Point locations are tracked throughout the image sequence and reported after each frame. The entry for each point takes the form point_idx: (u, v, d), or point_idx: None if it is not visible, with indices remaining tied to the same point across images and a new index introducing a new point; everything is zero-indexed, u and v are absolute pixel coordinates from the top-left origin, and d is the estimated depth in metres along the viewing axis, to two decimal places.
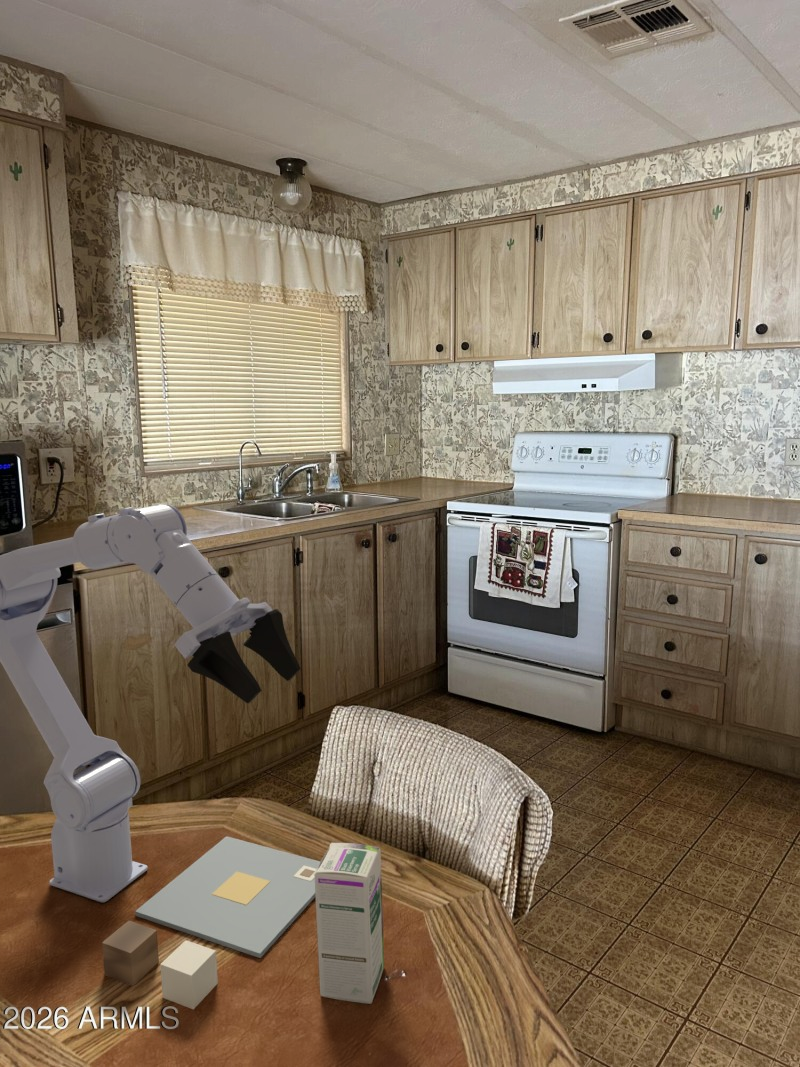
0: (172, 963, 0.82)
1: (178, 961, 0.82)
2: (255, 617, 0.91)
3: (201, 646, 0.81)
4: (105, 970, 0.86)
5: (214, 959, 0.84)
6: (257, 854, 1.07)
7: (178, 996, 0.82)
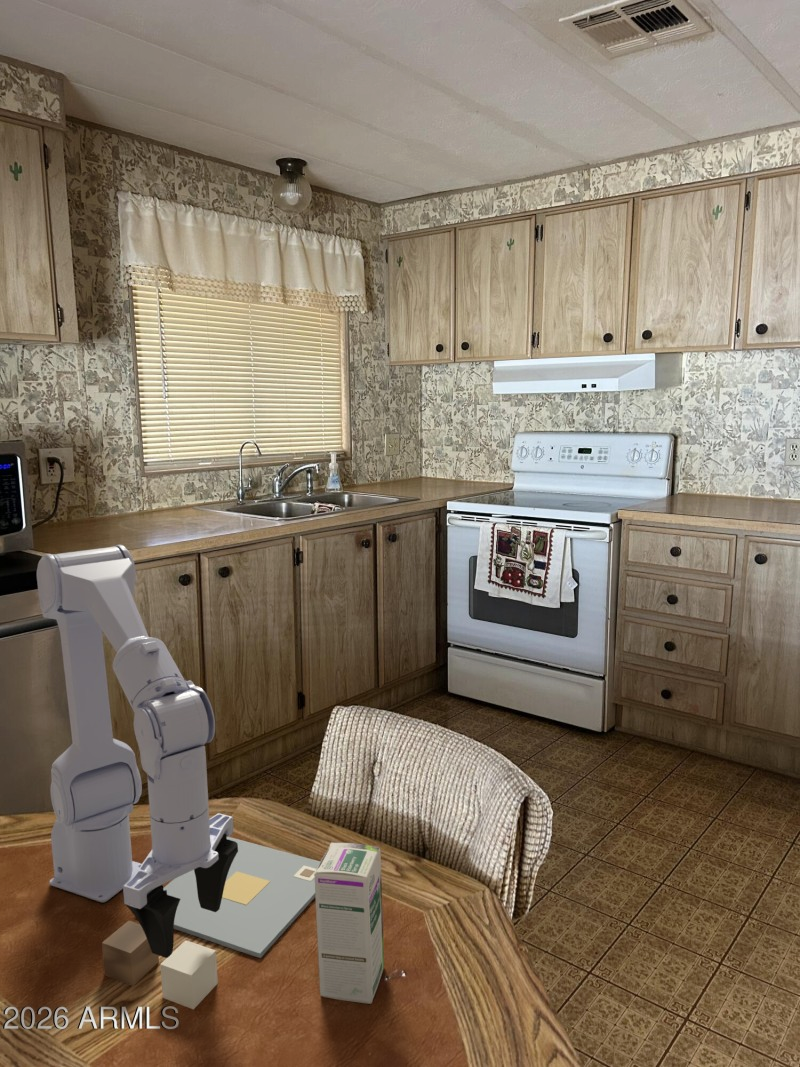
0: (172, 963, 0.82)
1: (178, 961, 0.82)
2: None
3: (146, 903, 0.75)
4: (105, 971, 0.86)
5: (213, 958, 0.84)
6: (257, 854, 1.07)
7: (178, 996, 0.82)
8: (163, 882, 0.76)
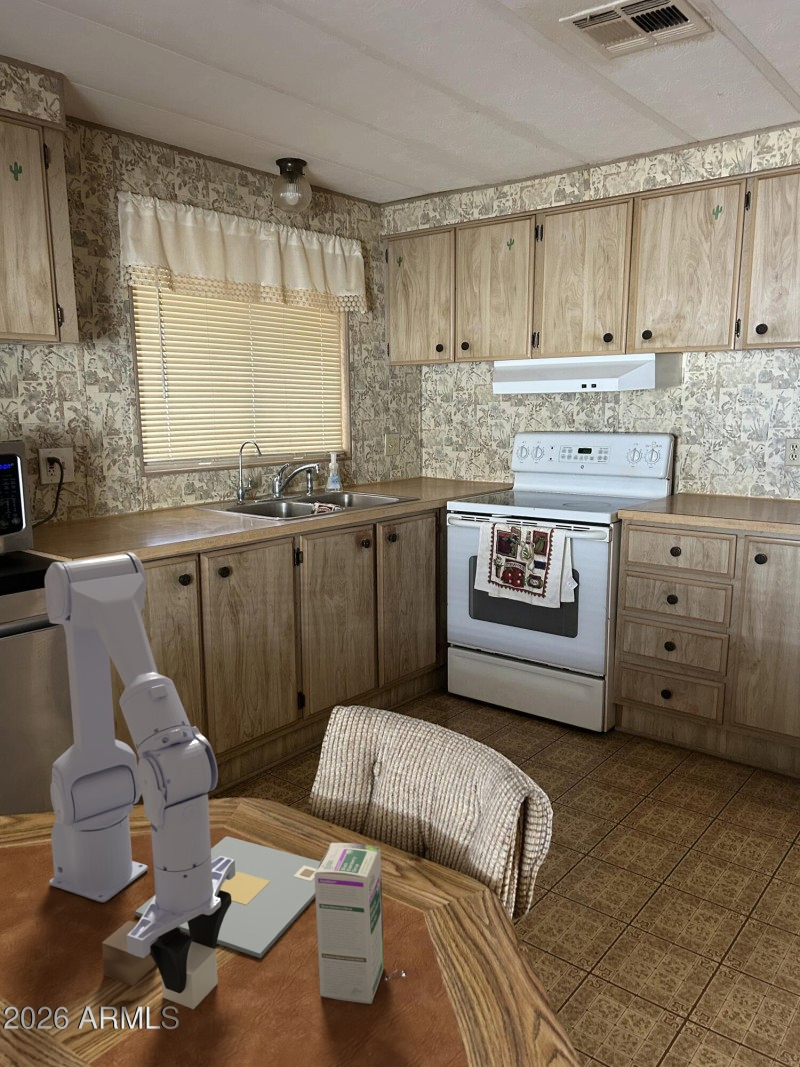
0: None
1: None
2: None
3: (149, 952, 0.76)
4: (105, 971, 0.86)
5: (214, 958, 0.84)
6: (257, 854, 1.07)
7: (178, 995, 0.82)
8: (166, 930, 0.77)
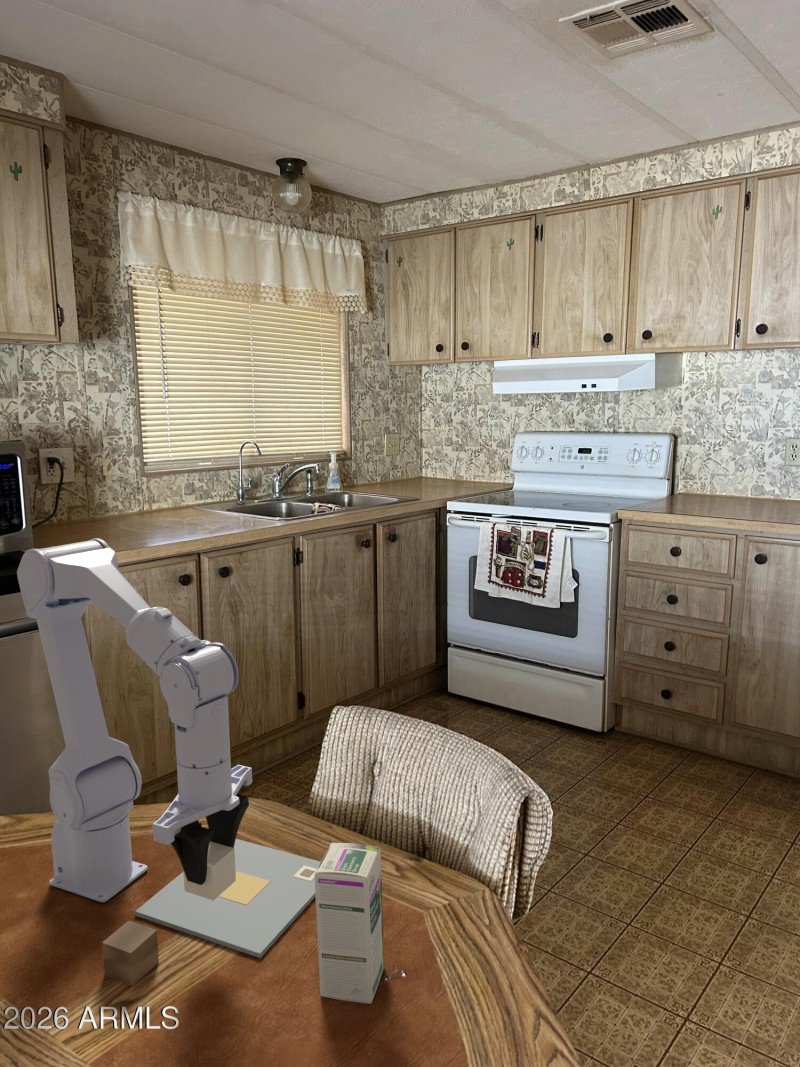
0: None
1: None
2: None
3: (173, 840, 0.82)
4: (105, 970, 0.86)
5: (232, 856, 0.89)
6: (257, 854, 1.07)
7: (199, 888, 0.87)
8: (189, 822, 0.83)
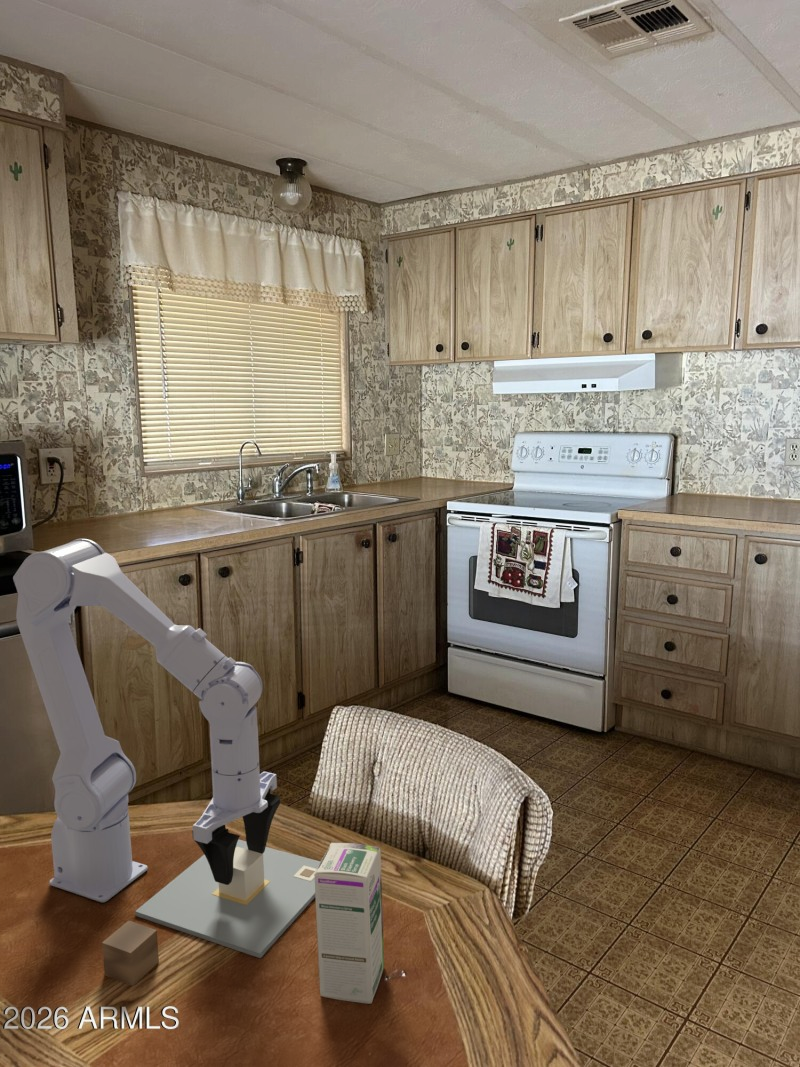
0: None
1: None
2: None
3: (211, 839, 0.92)
4: (105, 970, 0.86)
5: (261, 860, 1.00)
6: None
7: (232, 889, 0.98)
8: (224, 823, 0.93)
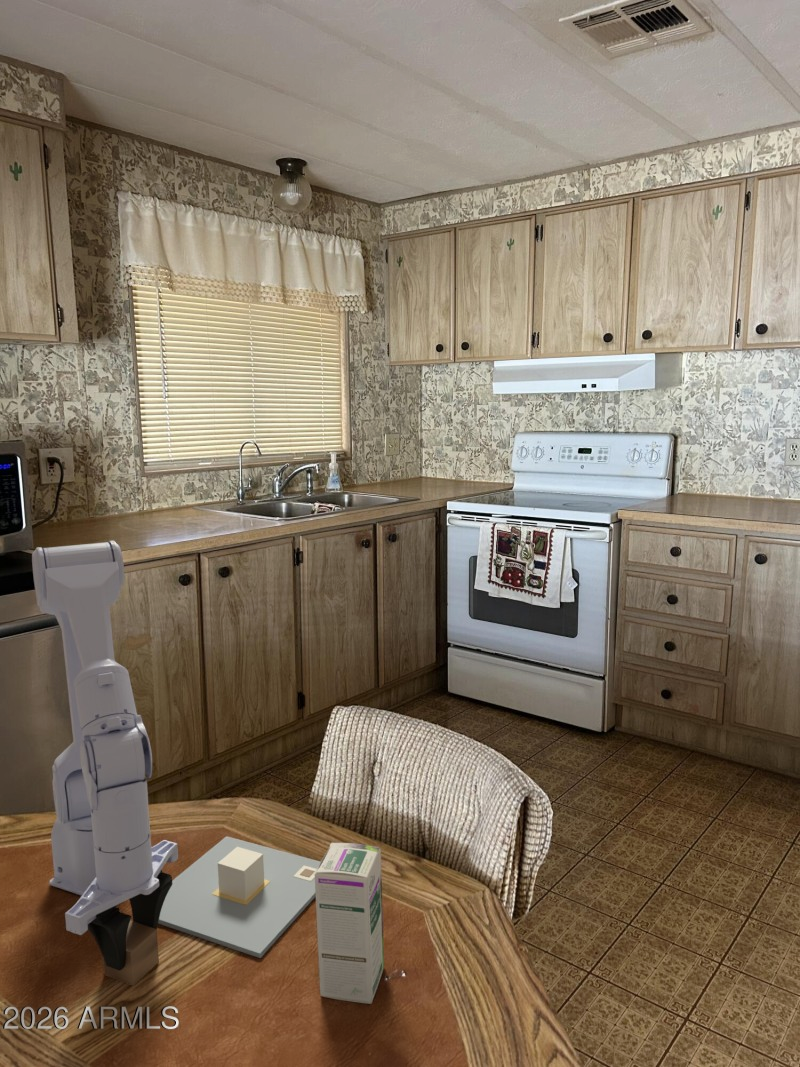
0: (227, 862, 0.98)
1: (232, 861, 0.99)
2: None
3: (87, 929, 0.80)
4: (105, 970, 0.86)
5: (261, 860, 1.00)
6: None
7: (232, 889, 0.98)
8: (104, 909, 0.81)
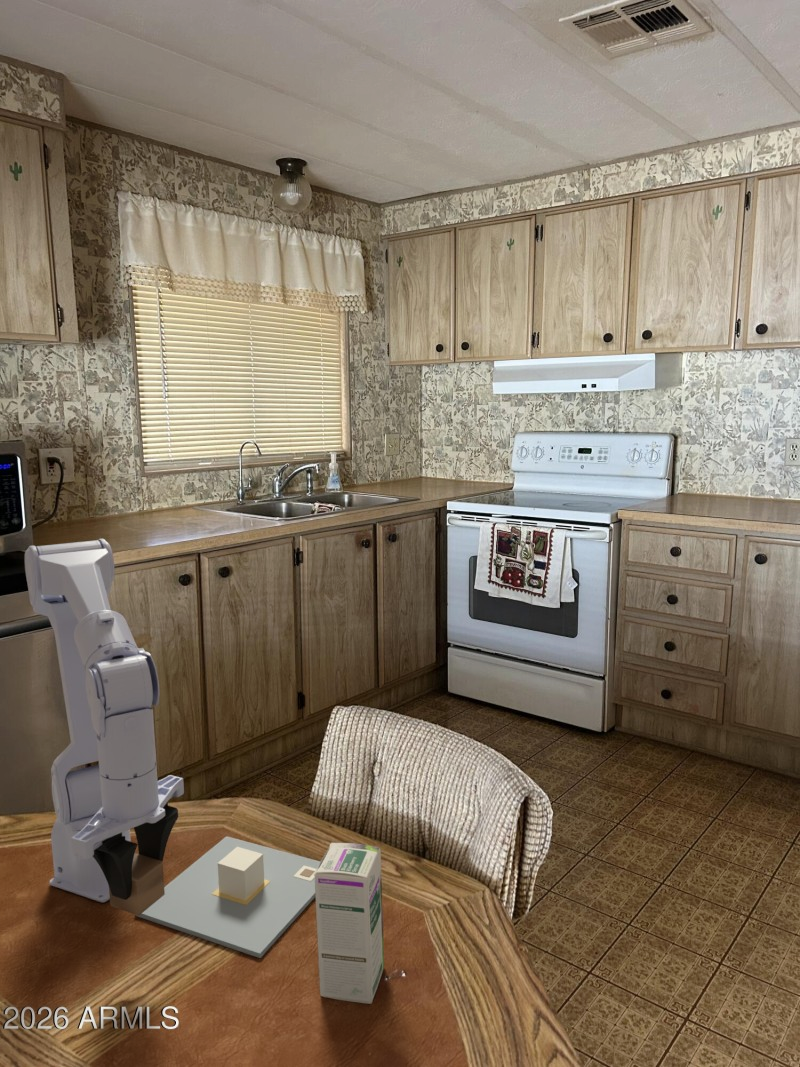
0: (227, 862, 0.98)
1: (232, 861, 0.99)
2: None
3: (93, 854, 0.80)
4: (111, 901, 0.86)
5: (261, 860, 1.00)
6: None
7: (232, 889, 0.98)
8: (110, 835, 0.80)
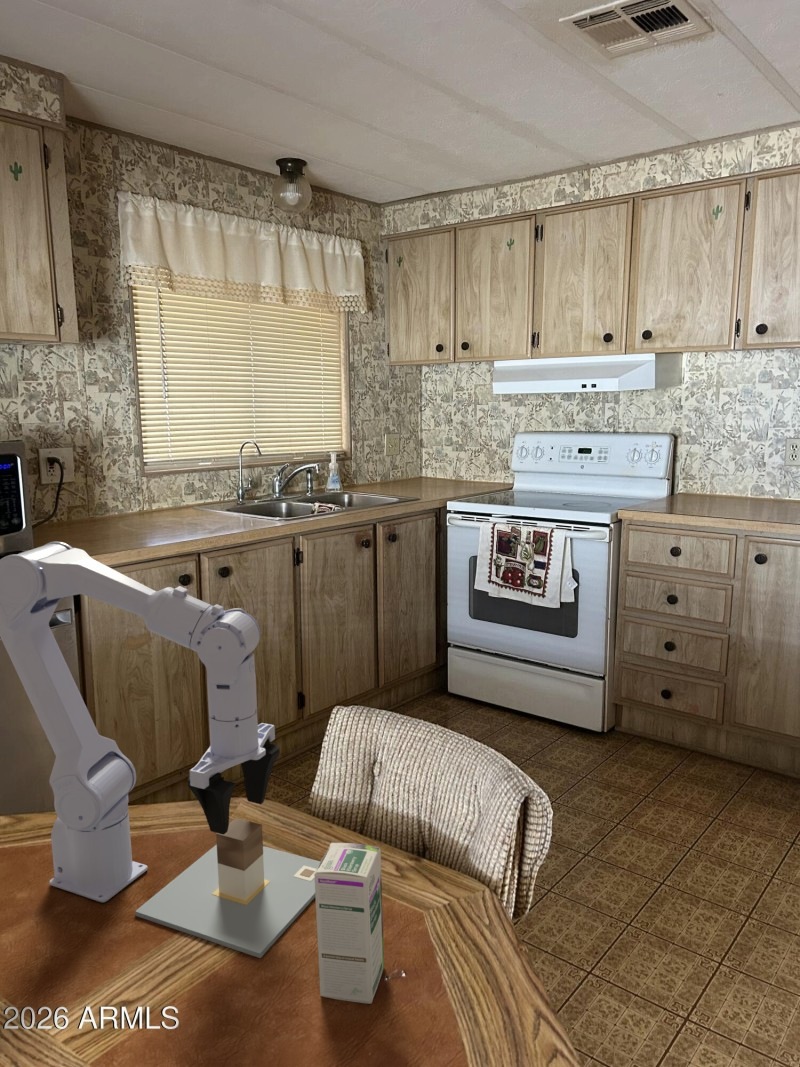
0: None
1: None
2: None
3: (208, 785, 0.91)
4: (218, 858, 0.98)
5: (261, 860, 1.00)
6: None
7: (232, 889, 0.98)
8: (222, 769, 0.92)
